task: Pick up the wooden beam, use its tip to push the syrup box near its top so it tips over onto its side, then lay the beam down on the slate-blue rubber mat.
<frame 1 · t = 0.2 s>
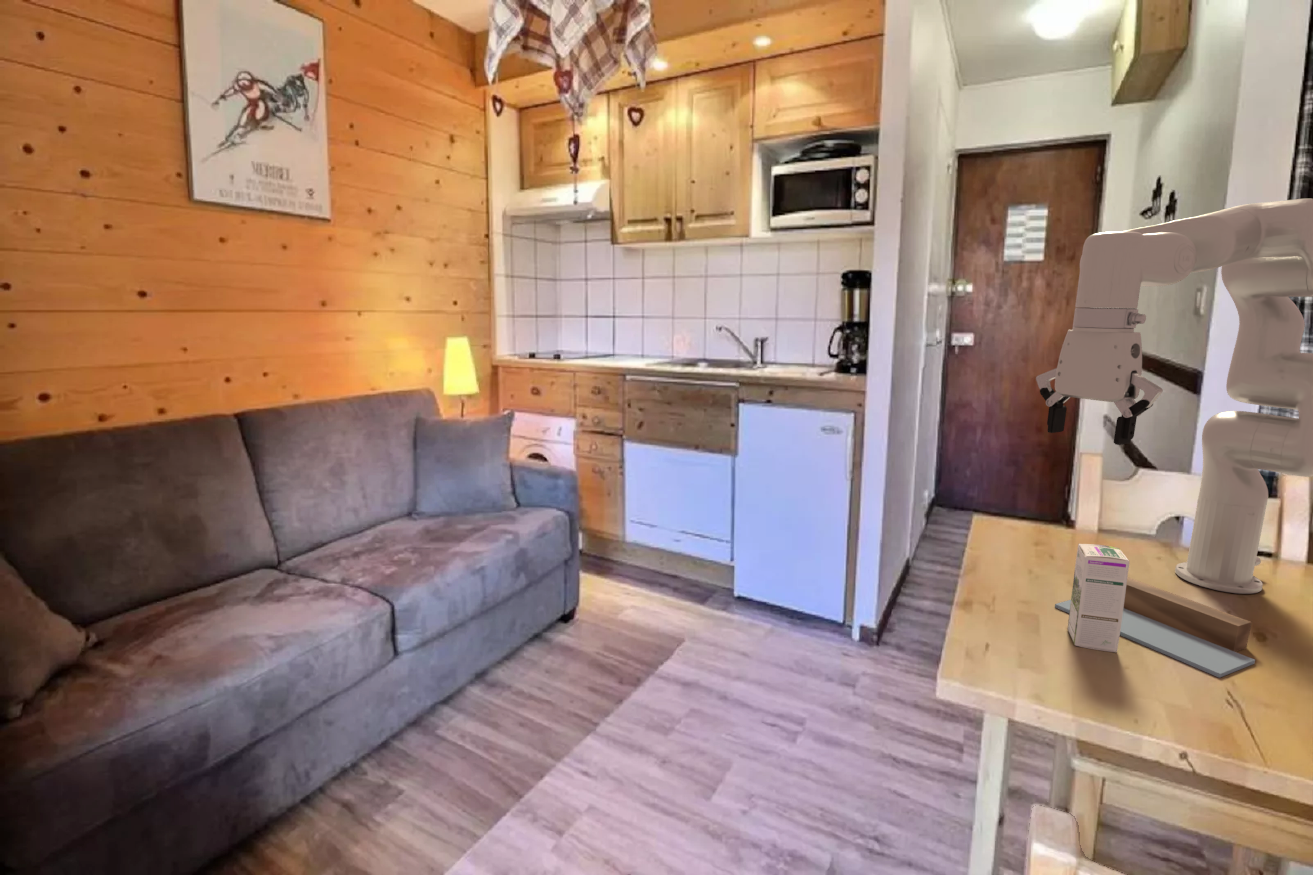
hand: (1087, 437, 102), 31 cm above the table, tool pointing down, fingers open, 9 cm apart
wooden beam: (1160, 620, 112), on the table
rubber mat: (1146, 633, 107), on the table
syrup box: (1090, 642, 104), on the table
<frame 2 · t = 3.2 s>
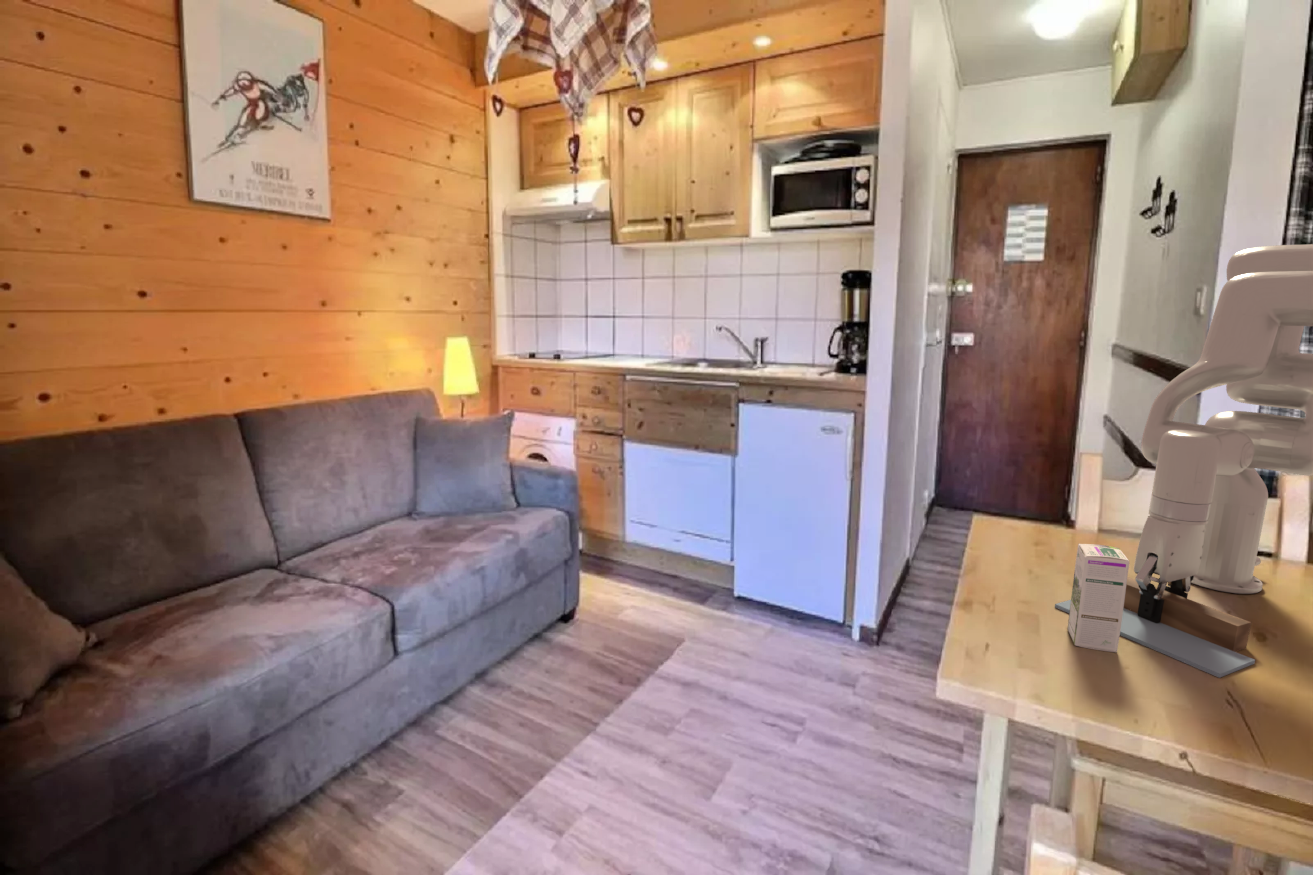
hand: (1160, 615, 111), 1 cm above the table, tool pointing down, fingers open, 5 cm apart
nothing on the table moved.
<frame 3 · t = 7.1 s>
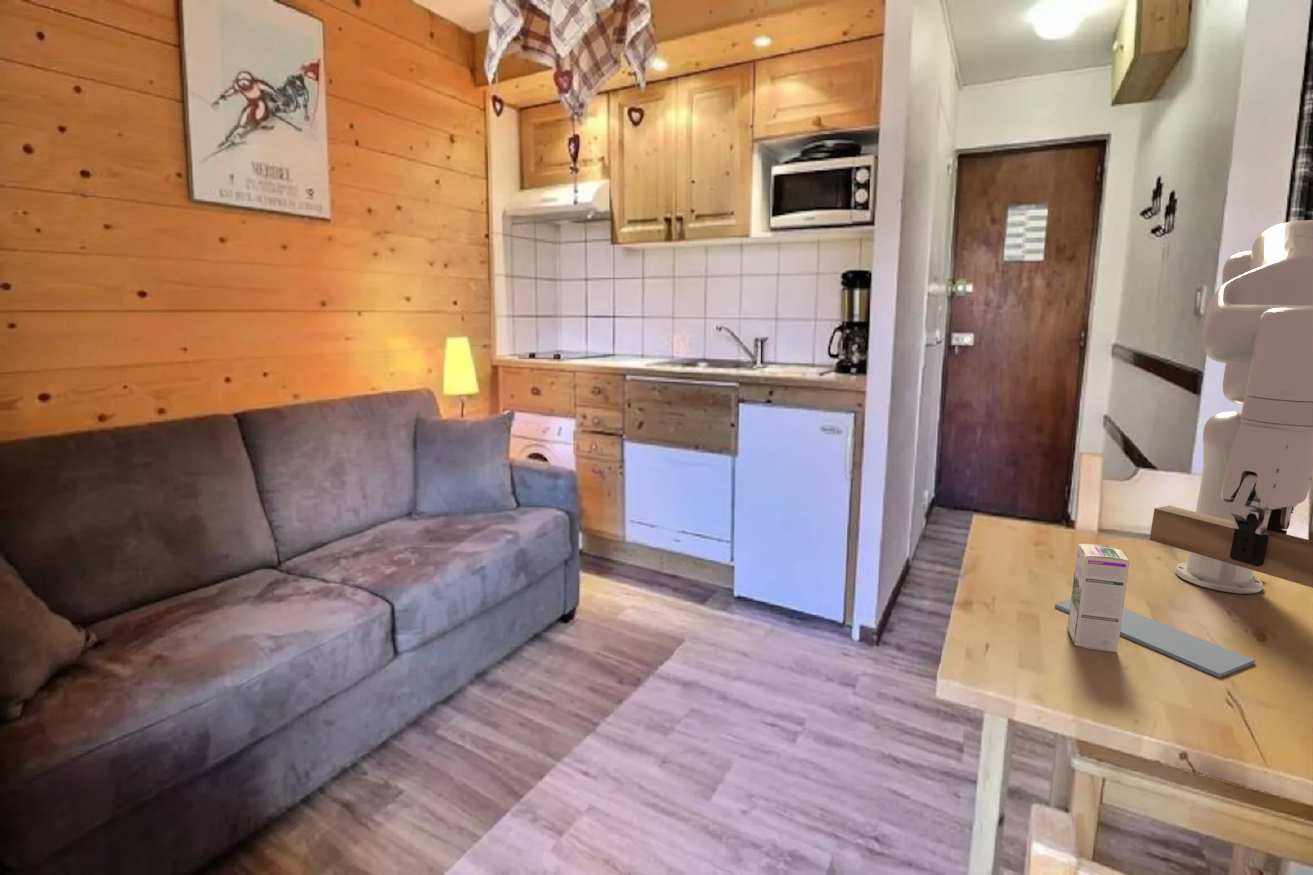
hand: (1255, 558, 85), 20 cm above the table, tool pointing down, fingers closed on wooden beam, 3 cm apart
wooden beam: (1252, 565, 85), point 19 cm above the table, touching gripper
everything else where it was.
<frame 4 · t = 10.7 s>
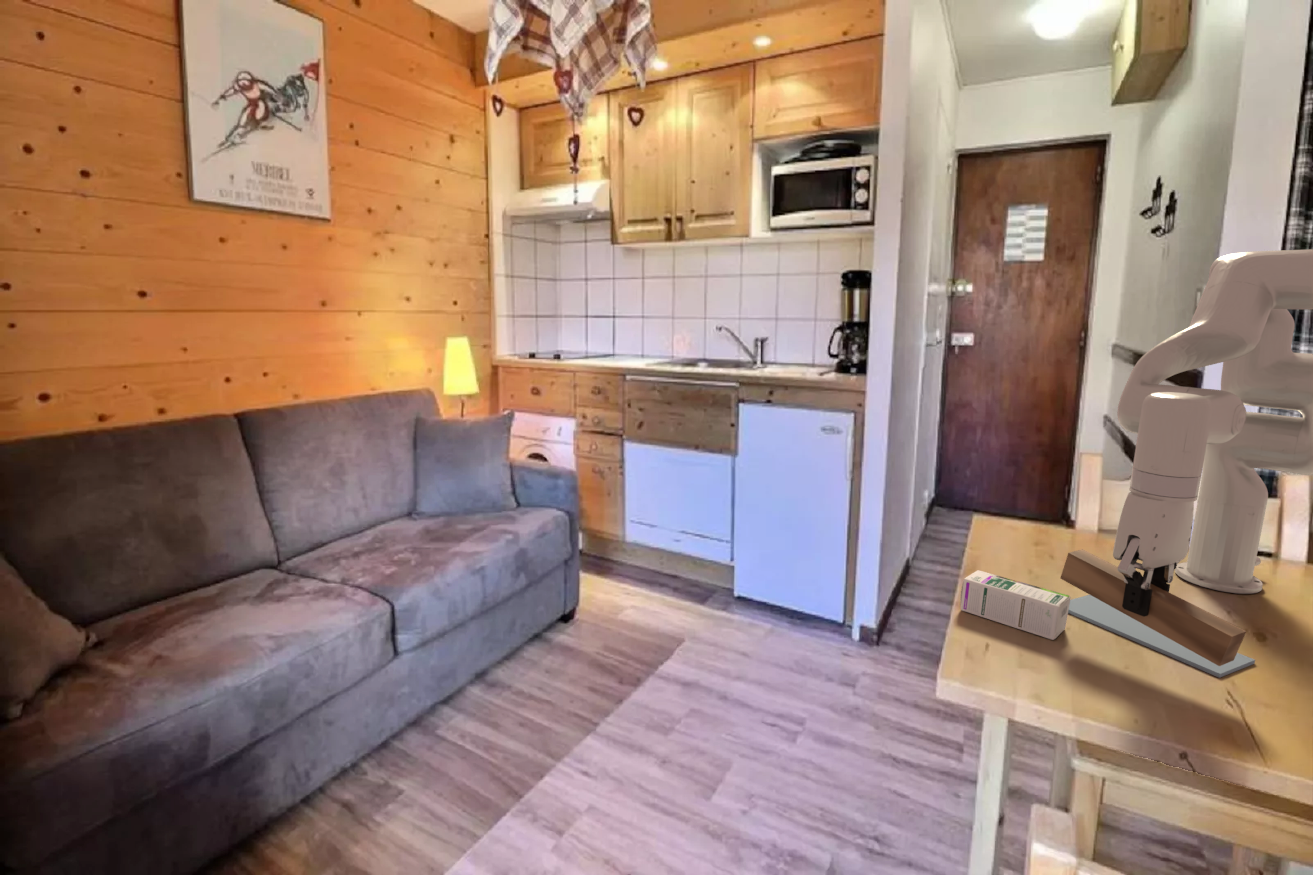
hand: (1143, 608, 97), 8 cm above the table, tool pointing down, fingers closed on wooden beam, 3 cm apart
wooden beam: (1139, 615, 97), point 7 cm above the table, tilted 9°, touching gripper
syrup box: (1064, 619, 105), point 3 cm above the table
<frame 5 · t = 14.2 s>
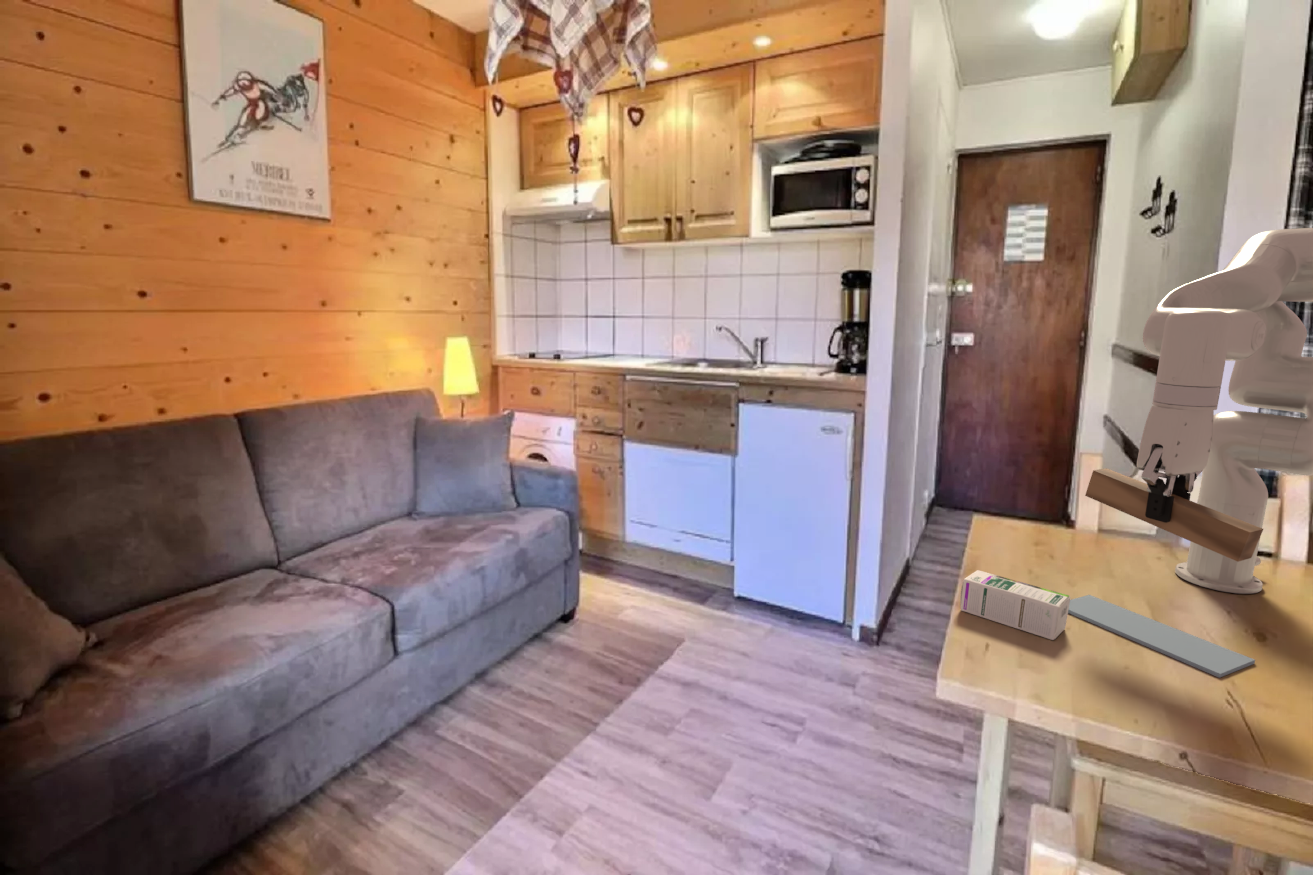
hand: (1165, 516, 103), 19 cm above the table, tool pointing down, fingers closed on wooden beam, 3 cm apart
wooden beam: (1161, 524, 103), point 18 cm above the table, tilted 9°, touching gripper
everything else where it was.
when the fingers open (2 cm above the table, at t = 17.5 s): wooden beam stays where it is, resting on rubber mat.
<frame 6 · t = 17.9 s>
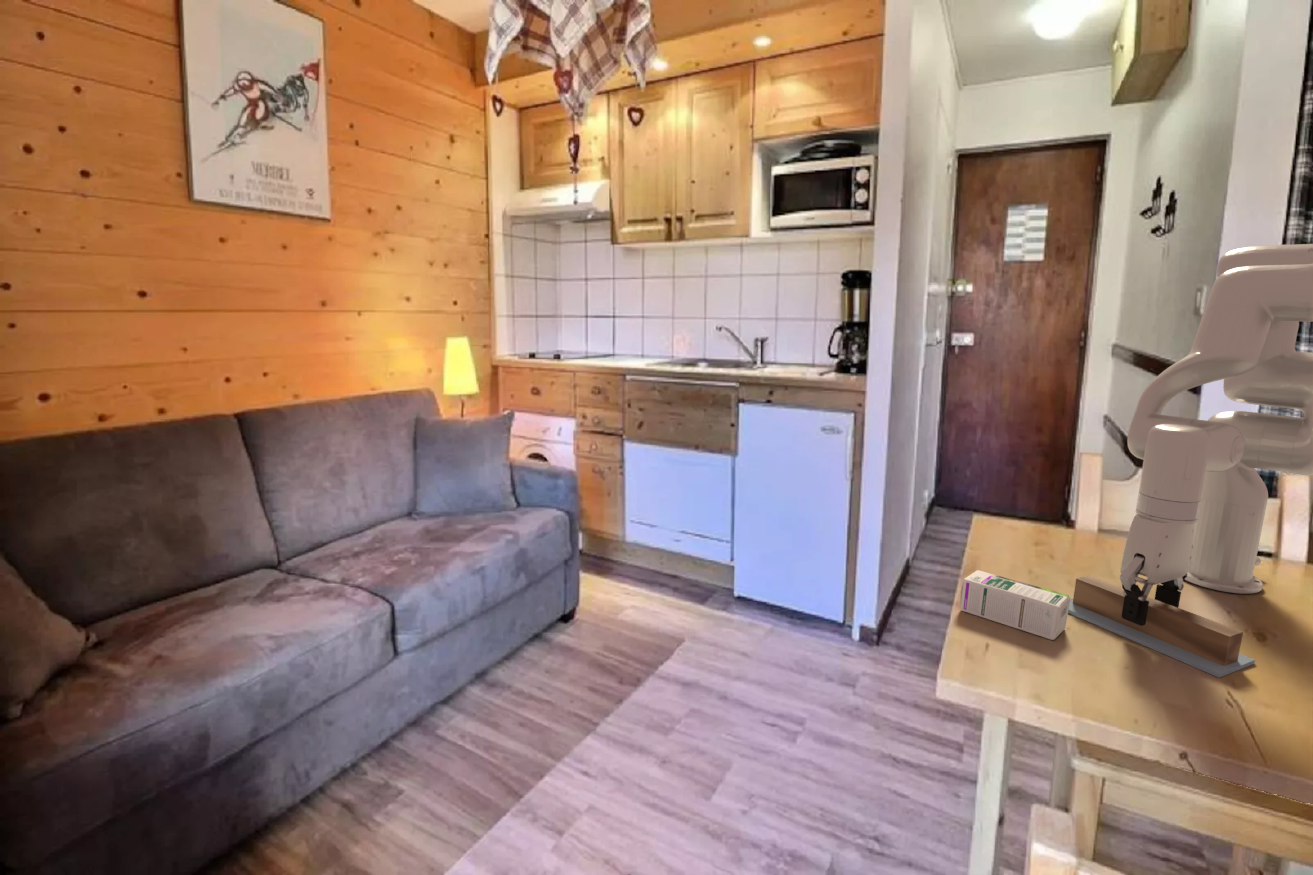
hand: (1149, 616, 106), 3 cm above the table, tool pointing down, fingers open, 7 cm apart
wooden beam: (1148, 629, 106), point 1 cm above the table, touching rubber mat
everything else where it was.
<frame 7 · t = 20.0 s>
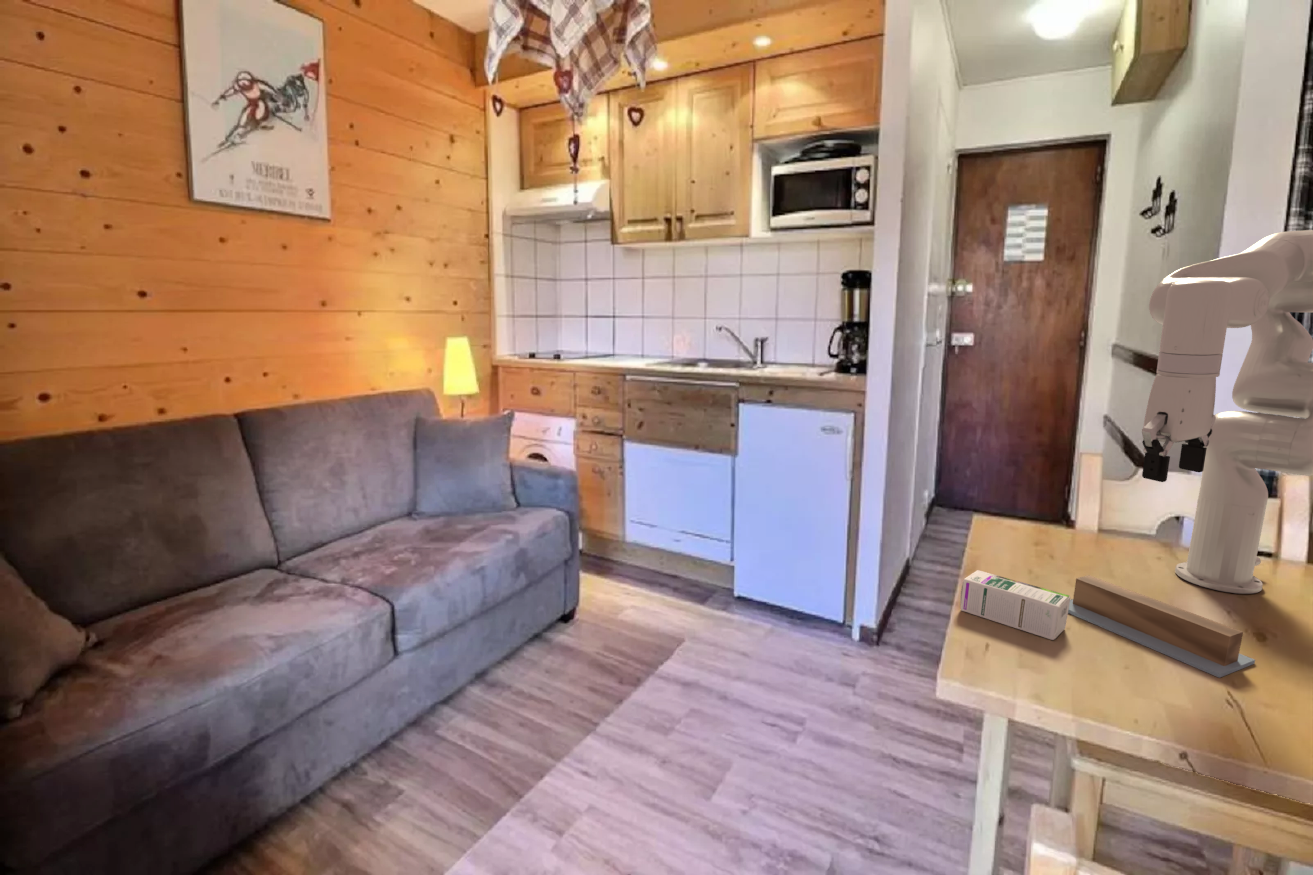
hand: (1172, 474, 106), 24 cm above the table, tool pointing down, fingers open, 9 cm apart
nothing on the table moved.
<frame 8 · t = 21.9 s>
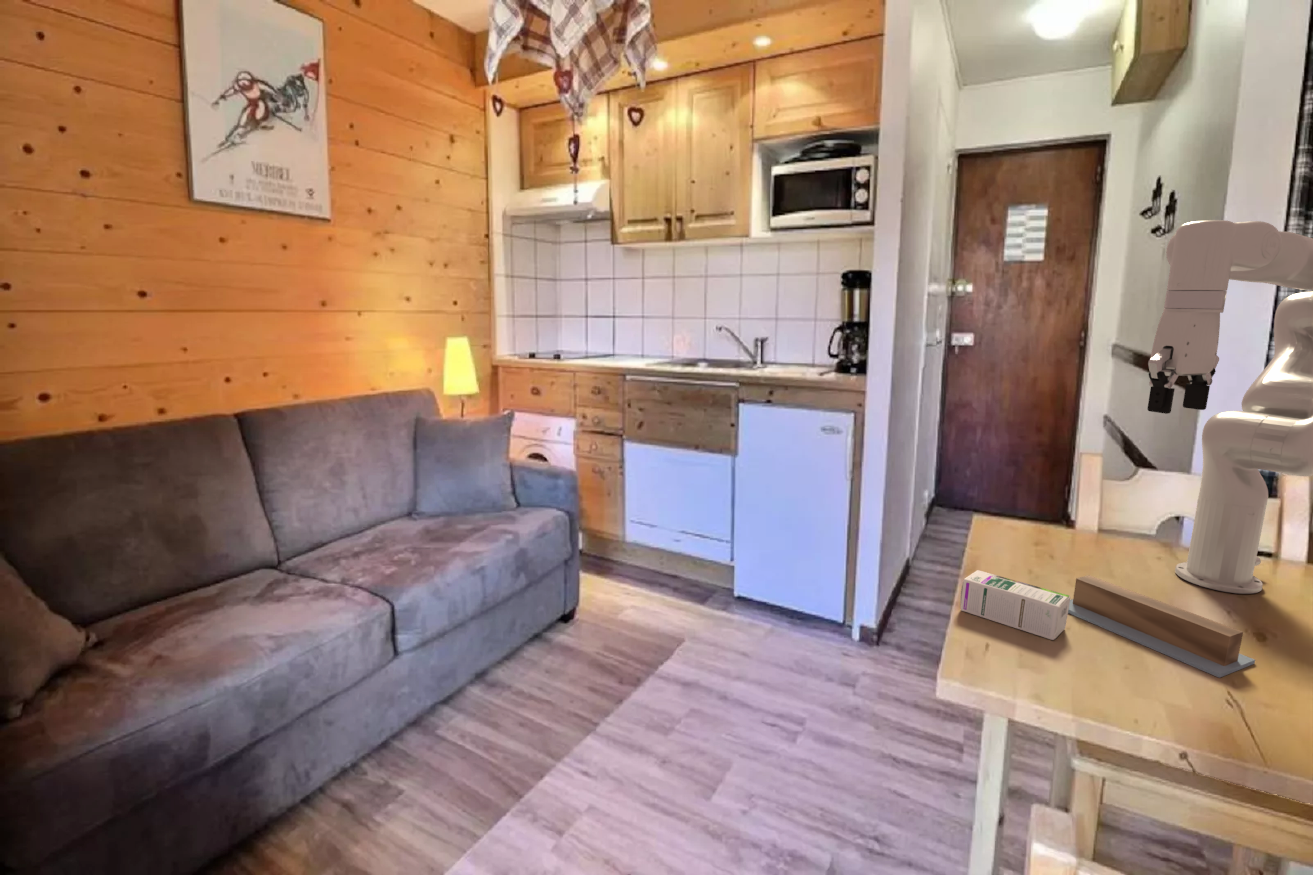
hand: (1176, 410, 111), 33 cm above the table, tool pointing down, fingers open, 9 cm apart
nothing on the table moved.
at the end: syrup box tilted 89°; wooden beam inside the target area on the rubber mat (0.1 cm from its centre), point 0.6 cm above the rubber mat's base; the gripper is holding nothing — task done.
